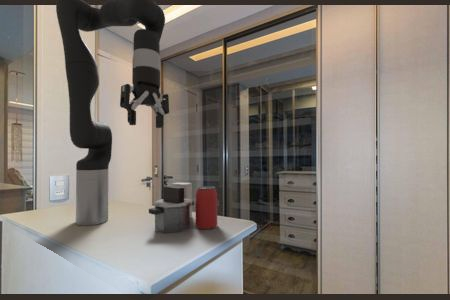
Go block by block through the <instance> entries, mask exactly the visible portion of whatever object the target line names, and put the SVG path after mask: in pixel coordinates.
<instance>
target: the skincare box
mask: <svg viewBox="0 0 450 300" xmlns="http://www.w3.org/2000/svg"><path fill="white" fill-rule="evenodd" d="M170 186H176V187H184V198H187V199H191V200H192V201H193V193H192V192H193V187H192V182H173V183H171V185H170ZM192 217H193V205H192V206H190V218H192Z"/></svg>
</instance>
